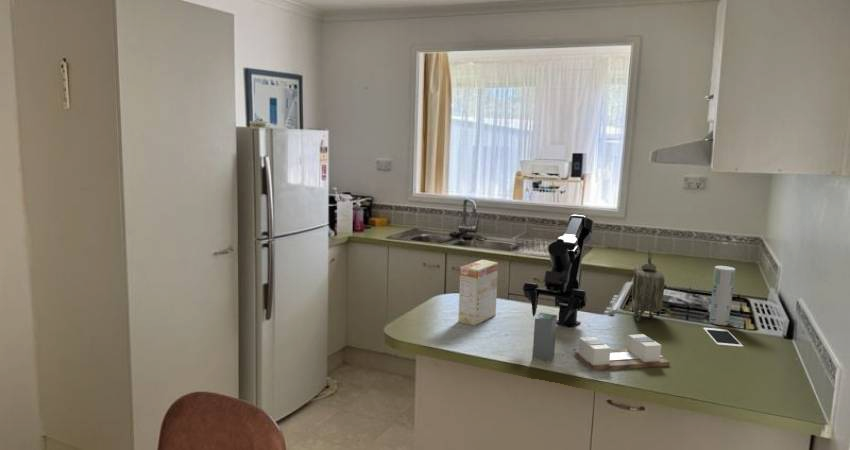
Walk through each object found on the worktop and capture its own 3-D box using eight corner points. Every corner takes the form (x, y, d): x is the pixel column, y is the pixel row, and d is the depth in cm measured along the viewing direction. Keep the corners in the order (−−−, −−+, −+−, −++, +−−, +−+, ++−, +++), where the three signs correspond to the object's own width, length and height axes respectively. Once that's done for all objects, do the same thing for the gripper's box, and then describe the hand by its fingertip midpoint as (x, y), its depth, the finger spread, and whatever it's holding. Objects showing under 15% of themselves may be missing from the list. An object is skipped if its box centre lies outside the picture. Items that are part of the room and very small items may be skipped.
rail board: (592, 370, 163) (593, 365, 163) (574, 355, 174) (575, 350, 173) (669, 365, 168) (669, 360, 168) (647, 351, 179) (647, 346, 178)
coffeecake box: (479, 311, 213) (481, 259, 210) (496, 315, 209) (499, 262, 206) (457, 321, 201) (459, 266, 198) (474, 326, 197) (477, 269, 194)
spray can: (730, 326, 204) (737, 270, 201) (709, 323, 206) (716, 268, 203) (727, 320, 211) (733, 266, 207) (707, 318, 213) (713, 264, 209)
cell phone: (726, 331, 201) (727, 329, 201) (743, 348, 185) (743, 346, 185) (702, 329, 202) (702, 327, 202) (717, 345, 186) (717, 344, 186)
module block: (537, 350, 177) (540, 312, 175) (554, 353, 175) (557, 314, 173) (532, 357, 171) (535, 317, 169) (549, 360, 169) (552, 320, 167)
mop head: (630, 310, 219) (636, 245, 215) (656, 313, 217) (662, 247, 212) (633, 322, 205) (639, 253, 201) (660, 325, 203) (667, 255, 199)
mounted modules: (593, 365, 164) (594, 348, 163) (578, 353, 172) (579, 336, 172) (659, 360, 168) (661, 344, 168) (641, 349, 177) (643, 333, 176)
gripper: (526, 256, 180) (513, 299, 172) (587, 264, 172) (577, 309, 164) (531, 276, 189) (519, 318, 180) (590, 284, 181) (581, 328, 173)
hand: (548, 318), depth 174 cm, fingers open, 9 cm apart
